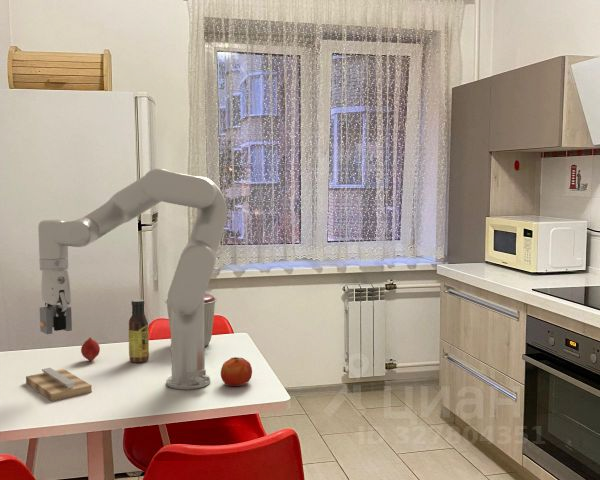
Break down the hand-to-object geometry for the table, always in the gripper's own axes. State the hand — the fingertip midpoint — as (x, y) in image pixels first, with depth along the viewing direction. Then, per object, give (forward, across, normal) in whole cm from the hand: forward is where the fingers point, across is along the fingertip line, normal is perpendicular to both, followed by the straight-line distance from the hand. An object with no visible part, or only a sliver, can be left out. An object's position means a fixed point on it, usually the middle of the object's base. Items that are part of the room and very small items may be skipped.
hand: (56, 327), depth 183 cm
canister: (+18, +14, -53) cm, 58 cm away
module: (+1, 0, 0) cm, 1 cm away
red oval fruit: (+18, +19, -18) cm, 31 cm away
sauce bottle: (+18, +9, -30) cm, 36 cm away
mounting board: (+17, 0, 0) cm, 17 cm away
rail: (+15, 0, 0) cm, 15 cm away
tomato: (+17, -31, -40) cm, 54 cm away
